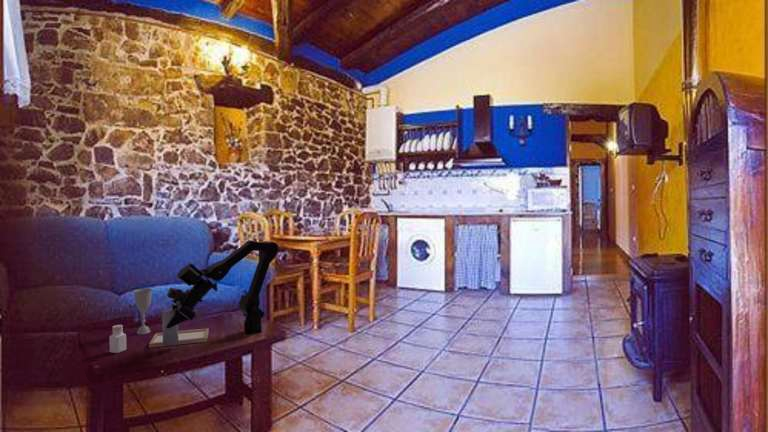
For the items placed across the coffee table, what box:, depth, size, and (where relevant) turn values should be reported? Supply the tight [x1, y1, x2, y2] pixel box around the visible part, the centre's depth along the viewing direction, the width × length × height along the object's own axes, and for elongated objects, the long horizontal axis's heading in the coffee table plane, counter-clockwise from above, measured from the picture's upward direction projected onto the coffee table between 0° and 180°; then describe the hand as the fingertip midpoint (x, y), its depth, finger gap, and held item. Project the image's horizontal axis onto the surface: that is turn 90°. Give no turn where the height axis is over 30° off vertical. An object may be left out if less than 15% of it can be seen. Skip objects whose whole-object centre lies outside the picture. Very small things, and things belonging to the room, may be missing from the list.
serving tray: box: [148, 327, 210, 348], centre depth 164 cm, size 20×13×2 cm, turn 110°
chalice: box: [132, 287, 153, 335], centre depth 172 cm, size 7×7×18 cm
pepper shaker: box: [108, 324, 127, 354], centre depth 151 cm, size 4×4×10 cm
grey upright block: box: [161, 308, 179, 346], centre depth 153 cm, size 5×5×12 cm
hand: (166, 325), depth 152 cm, fingers closed on grey upright block, 5 cm apart
